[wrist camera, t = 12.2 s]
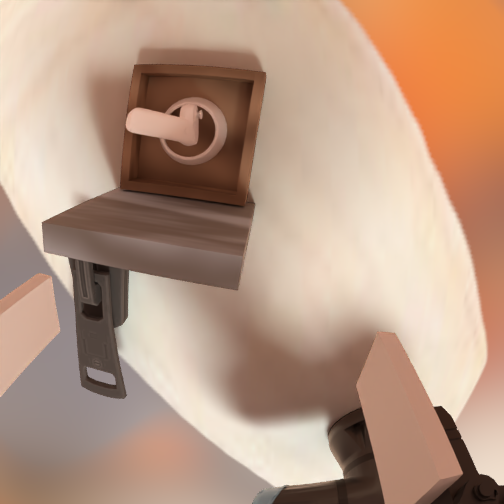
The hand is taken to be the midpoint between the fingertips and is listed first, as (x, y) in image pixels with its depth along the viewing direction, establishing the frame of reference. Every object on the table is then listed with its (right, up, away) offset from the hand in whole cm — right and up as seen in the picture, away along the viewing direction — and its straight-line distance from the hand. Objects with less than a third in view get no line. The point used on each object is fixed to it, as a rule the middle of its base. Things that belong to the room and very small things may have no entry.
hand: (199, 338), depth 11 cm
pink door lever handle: (-5, +16, +21) cm, 27 cm away
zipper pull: (-19, -5, +31) cm, 37 cm away
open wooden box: (-5, +15, +22) cm, 27 cm away
